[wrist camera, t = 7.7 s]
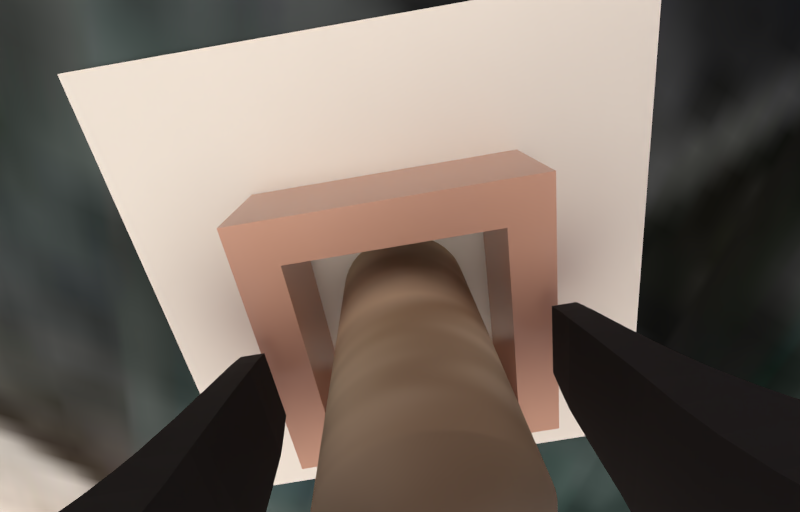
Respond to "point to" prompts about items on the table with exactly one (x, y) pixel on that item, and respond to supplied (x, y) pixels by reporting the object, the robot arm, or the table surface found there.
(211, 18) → the table surface
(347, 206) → the socket board
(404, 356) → the maple peg
